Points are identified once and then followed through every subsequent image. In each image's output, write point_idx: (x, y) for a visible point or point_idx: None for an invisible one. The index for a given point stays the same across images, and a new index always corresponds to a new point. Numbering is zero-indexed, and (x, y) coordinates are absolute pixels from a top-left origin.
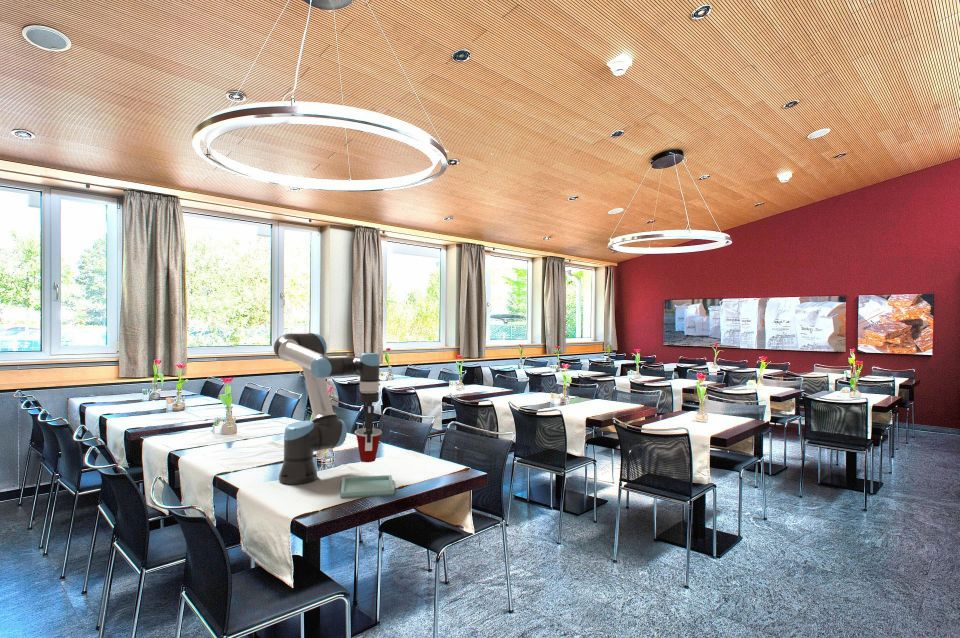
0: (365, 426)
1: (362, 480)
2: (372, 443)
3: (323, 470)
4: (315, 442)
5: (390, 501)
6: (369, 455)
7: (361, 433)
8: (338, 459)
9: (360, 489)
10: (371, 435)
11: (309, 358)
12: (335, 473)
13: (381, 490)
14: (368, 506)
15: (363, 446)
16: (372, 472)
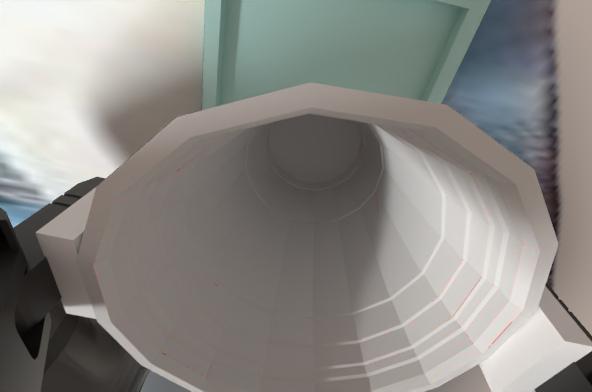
0: (49, 331)
1: (220, 97)
2: (431, 208)
3: (52, 196)
4: (80, 360)
5: (547, 44)
6: (379, 168)
7: (185, 304)
8: None
9: None
10: (563, 330)
11: None
12: (90, 168)
13: (456, 67)
14: (529, 147)
15: (380, 255)
16: (68, 5)
